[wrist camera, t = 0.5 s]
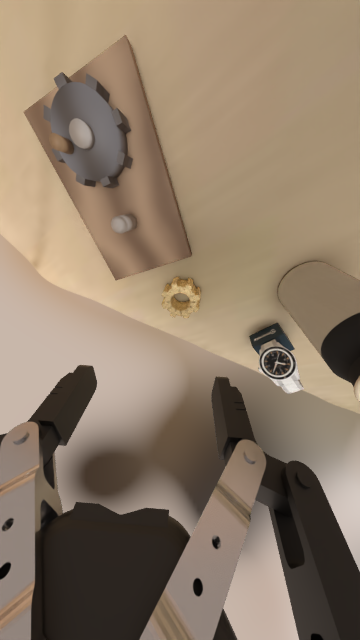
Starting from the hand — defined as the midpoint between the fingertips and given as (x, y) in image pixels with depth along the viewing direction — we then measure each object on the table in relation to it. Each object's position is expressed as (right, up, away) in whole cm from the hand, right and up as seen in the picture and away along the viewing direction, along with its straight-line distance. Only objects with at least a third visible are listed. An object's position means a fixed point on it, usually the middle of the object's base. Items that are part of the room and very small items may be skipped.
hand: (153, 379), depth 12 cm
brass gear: (+2, +8, +19) cm, 21 cm away
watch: (+19, +1, +22) cm, 29 cm away
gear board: (-6, +21, +12) cm, 25 cm away
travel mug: (+21, +9, +16) cm, 28 cm away
